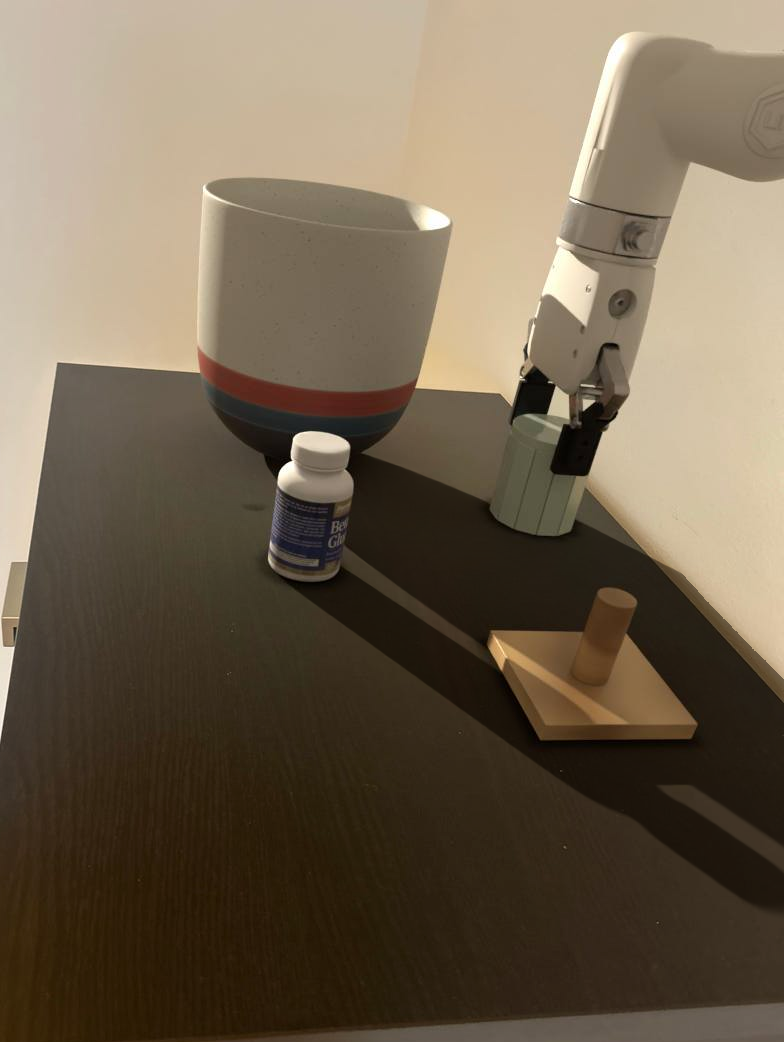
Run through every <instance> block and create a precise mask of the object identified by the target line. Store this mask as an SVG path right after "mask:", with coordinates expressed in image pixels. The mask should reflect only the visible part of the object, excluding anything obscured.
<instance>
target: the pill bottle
mask: <svg viewBox="0 0 784 1042" xmlns="http://www.w3.org/2000/svg"><path fill="white" fill-rule="evenodd" d="M349 454H350V444H349V443H348V442H347V441H346V440H345V439H343V438H341V437H339V436H336V435H333V434H329V433H324V432H313V431H310V432H302V433H299V434H297V435H295V437H294V438H293V443H292V450H291V459H292V461H291V462H287V463H285V464H284V465H283V466H282V467H281V469H280V470H279V472H278V476H277V482H276V483H277V484H276V491H275V499H274V506H273V507H274V508H273V514H272V522H271V531H270V538H269V547H268V554H267V555H268V556H267V557H268V558H267V561H268V564H269V565H270V567H271V569H272V570H273V571H275V572H276V573H277V574H278V575H280V576H282V577H284V578H287V579H289V580H293V581H297V582H303V583H317V582H324V581H327V580H330V579H332V578H333V577H335V576H336V575H337V574H338V572H339V571H340V567H341V564H342V558H343V551H344V546H345V541H346V540H345V539H346V535H347V530H348V529H347V528H348V524H349V516H350V511H351V506H352V501H353V495H354V489H355V488H354V485H355V484H354V479H353V477H352V476H351V474H350V473H349V472H348V471H347V470H346V469H347V467H348V464H349V460H350V458H349Z"/></svg>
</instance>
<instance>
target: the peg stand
mask: <svg viewBox="0 0 784 1042" xmlns="http://www.w3.org/2000/svg"><path fill="white" fill-rule="evenodd" d="M637 606H638V601H637V599H636V598H635V596H633V595H632V594H630V593H629V592H627V591H625V590H622V589H620V588H616V587H602V588H599V590H598V591H597V592H596V595H595V598H594V601H593V603H592V606H591V609H590V612H589V615H588V617H587V620H586V623H585V626H584V629H583V631H555V630H554V631H551V630H549V631H548V630H501V629H499V630H498V629H497V630H495V629H494V630H493V629H492V630H490V631H489V635H488V638H487V642H486V646H487V648H488V650H489V651H490V654H491V655H492V657H493V659H494V661H495V662H496V665H497V666H498V668H499V670H500V671H501V673H502V674H503V676H504V678H505V680H506V682H507V683H508V685H509V687H510V689H511V691H512V692H513V694H514V696H515V698H516V699H517V701H518V703H519V705H520V707H521V709H522V710H523V712H524V713H525V715H526V717H527V719H528V721H529V723H530V724H531V726H532V728H533V730H534V732H535V733H536V735H537V737H538V738H539V740H540V741H596V740H597V741H607V740H608V741H612V740H613V741H614V740H615V741H617V740H618V741H619V740H620V741H621V740H624V741H625V740H627V741H629V740H691V739H692V738H693V736H694V734H695V731H696V729H697V728H698V722H697V721H696V720H695V718H694V717H693V716H692V715H691V713H690V712H689V711H688V710H687V708H686V707H685V706H684V704H682V702H681V701H680V700H679V698H678V697H677V696H676V694H675V693H674V692H673V690H672V689H671V688H670V687H669V686H668V684H667V683H666V682H665V681H664V679H663V678H662V676H661V675H660V674H659V673H658V672H657V671H656V669H655V668H654V667H653V665H652V664H651V663H650V661H649V660H648V659H647V658H646V657H645V655H644V653H643V652H641V650H640V649H639V648H638V646H637V645H636V644H635V642H633V640H632V639H631V638H630V636H629V635H628V633H627V632H628V629H629V627H630V624H631V621H632V619H633V617H634V613H635V611H636V608H637Z"/></svg>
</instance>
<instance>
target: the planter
mask: <svg viewBox="0 0 784 1042" xmlns="http://www.w3.org/2000/svg"><path fill="white" fill-rule="evenodd" d="M453 226H454V222H453V220H452V218H451V217H450V216H448V215H447V214H445V213H444V212H442V211H440V210H438V209H436V208H433V207H430V206H428V205H425V204H422V203H419V202H416V201H413V200H409V199H405V198H402V197H398V196H394V195H390V194H385V193H380V192H376V191H372V190H367V189H361V188H356V187H349V186H344V185H338V184H331V183H323V182H317V181H308V180H300V179H299V180H298V179H297V180H296V179H288V178H275V177H251V176H250V177H249V176H247V177H246V176H245V177H229V178H228V177H227V178H218V179H215V180H214V179H213V180H211V181H208V182H207V183H205V184H204V185H203V188H202V201H201V218H200V238H199V253H198V254H199V256H198V280H197V281H198V282H197V317H196V318H197V319H196V320H197V321H196V322H197V323H196V325H197V326H196V330H197V331H196V334H197V335H196V346H197V348H196V349H197V360H198V367H199V375H200V379H201V383H202V386H203V387H202V388H203V391H204V393H205V396H206V400H207V401H208V403H209V405H210V407H211V409H212V411H213V412H214V413H215V415H216V417H217V418H218V419H219V421H220V422H221V423H222V424H223V425H224V427H225V428H226V429H227V430H228V431H229V432H230V433H231V434H232V435H234V437H235V438H237V440H239V441H241V442H242V443H243V444H244V445H246V446H248V448H249V447H250V448H251V449H253V450H254V451H256V452H258V453H260V454H262V455H265V456H267V457H270V458H272V459H276V460H280V461H283V462H287V463H289V462H291V461H292V459H291V450H292V443H293V438H294V437H295V435H297V434H299V433H302V432H310V431H313V432H324V433H329V434H333V435H336V436H339V437H341V438H343V439H345V440H346V441H347V442H348V443H349V444H350V454H349V459H351V458H352V457H355V456H357V455H359V454H361V453H363V452H365V451H367V450H368V449H370V448H371V447H373V446H374V445H376V444H378V443H379V442H380V441H382V440H383V439H384V438H385V437H386V436H387V435H388V434H390V432H392V430H393V429H394V428H395V427H396V425H397V424H398V422H399V421H400V419H402V417H403V415H404V413H405V411H406V409H407V407H408V405H409V404H410V401H411V399H412V397H413V395H414V392H415V390H416V387H417V384H418V380H419V377H420V374H421V370H422V366H423V362H424V358H425V355H426V351H427V347H428V343H429V338H430V335H431V330H432V326H433V321H434V317H435V313H436V308H437V304H438V299H439V294H440V291H441V286H442V280H443V276H444V271H445V266H446V261H447V256H448V252H449V247H450V241H451V235H452V231H453Z"/></svg>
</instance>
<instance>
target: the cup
mask: <svg viewBox="0 0 784 1042" xmlns="http://www.w3.org/2000/svg"><path fill="white" fill-rule="evenodd" d="M563 424H569V418H565V417H562V416H557V415H552V414H547V415H546V414H525V415H520V416H518V417H516V418H515V419H514V420H513V424H512V426H511V428H510V430H509V433H508V437H507V440H506V444H505V447H504V451H503V456H502V459H501V460H502V461H501V462H500V467H499V471H498V475H497V479H496V482H495V486H494V490H493V494H492V497H491V501H490V505H489V511H490V513H491V514H492V515H493V517H494V519H495V520H497V521H498V522H500V523H502V524H503V525H505V526H507V527H509V528H511V529H513V530H514V531H517V532H522V533H525V534H529V535H534V536H535V535H536V536H541V537H542V536H543V537H544V536H545V537H546V536H547V537H559V536H561V535H565V534H568V533H570V532H571V531H572V529H573V526H574V523H575V520H576V517H577V513H578V511H579V508H580V504H581V501H582V498H583V495H584V492H585V489H586V486H587V482H588V479H589V476H590V472H591V471H592V470H591V469H592V467H593V463H594V462H593V463H592V466H591V469H590V472H589V474H588V475H587V476H569V475H555V474H553V473H552V472H551V470H550V465H551V462H552V459H553V456H554V453H555V449H556V446H557V443H558V440H559V437H560V433H561V430H562V427H563Z"/></svg>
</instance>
